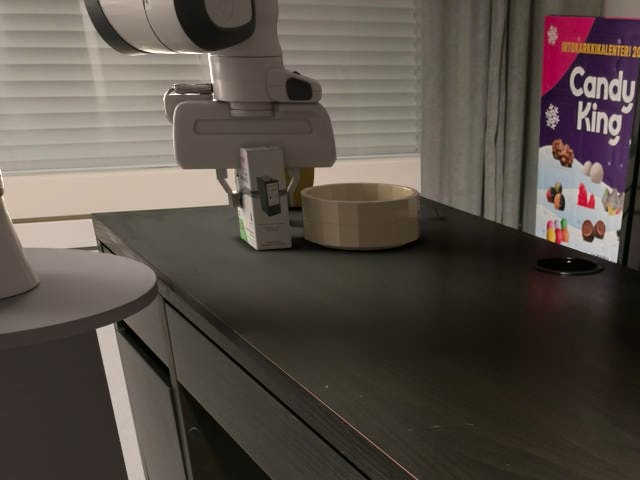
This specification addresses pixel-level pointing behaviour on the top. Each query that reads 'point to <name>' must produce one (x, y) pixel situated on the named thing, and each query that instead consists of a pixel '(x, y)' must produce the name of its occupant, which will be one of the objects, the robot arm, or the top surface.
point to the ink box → (263, 198)
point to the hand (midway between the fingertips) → (262, 206)
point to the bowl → (360, 215)
